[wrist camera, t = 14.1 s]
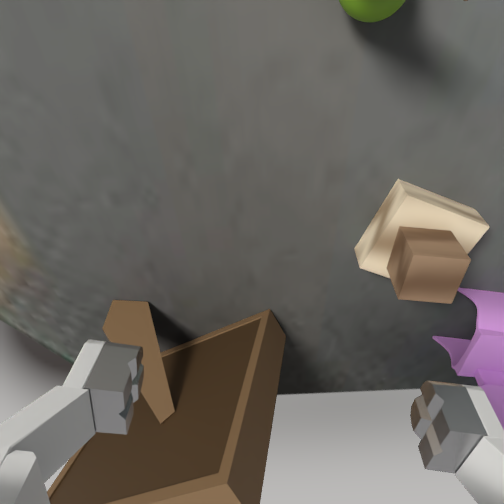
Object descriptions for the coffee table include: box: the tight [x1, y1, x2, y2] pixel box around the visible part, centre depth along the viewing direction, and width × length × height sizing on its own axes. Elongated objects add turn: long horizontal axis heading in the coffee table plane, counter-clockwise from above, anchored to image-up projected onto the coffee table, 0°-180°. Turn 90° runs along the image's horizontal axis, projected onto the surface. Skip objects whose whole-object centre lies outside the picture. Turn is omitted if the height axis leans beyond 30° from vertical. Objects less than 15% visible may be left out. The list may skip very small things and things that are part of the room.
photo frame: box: [47, 300, 286, 504], centre depth 43 cm, size 15×22×25 cm
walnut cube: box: [387, 226, 471, 304], centre depth 40 cm, size 5×5×5 cm
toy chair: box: [432, 288, 504, 429], centre depth 45 cm, size 8×9×15 cm
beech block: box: [355, 179, 489, 278], centre depth 43 cm, size 9×9×4 cm
